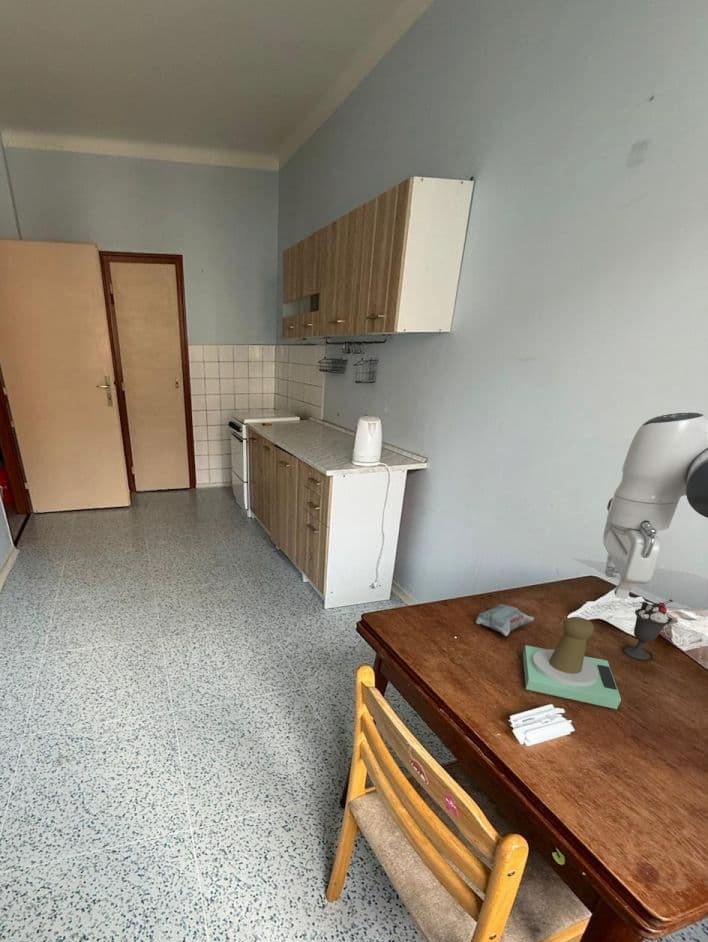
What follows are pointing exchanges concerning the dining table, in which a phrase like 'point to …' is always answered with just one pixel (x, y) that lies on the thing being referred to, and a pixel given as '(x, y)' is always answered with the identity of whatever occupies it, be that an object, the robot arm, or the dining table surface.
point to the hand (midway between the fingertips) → (614, 585)
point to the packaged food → (503, 618)
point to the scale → (570, 679)
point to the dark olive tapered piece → (572, 645)
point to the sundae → (648, 627)
